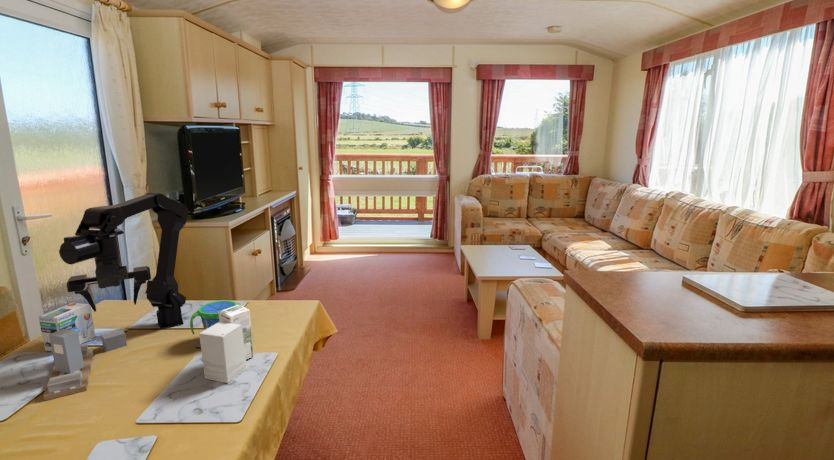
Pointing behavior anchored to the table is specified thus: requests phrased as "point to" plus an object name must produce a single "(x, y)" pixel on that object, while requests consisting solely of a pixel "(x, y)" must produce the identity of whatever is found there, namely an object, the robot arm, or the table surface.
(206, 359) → the supplement box
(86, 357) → the rail board
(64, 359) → the block
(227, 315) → the syrup box
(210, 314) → the snack cup
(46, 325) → the light bulb box
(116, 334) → the block
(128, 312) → the table surface
